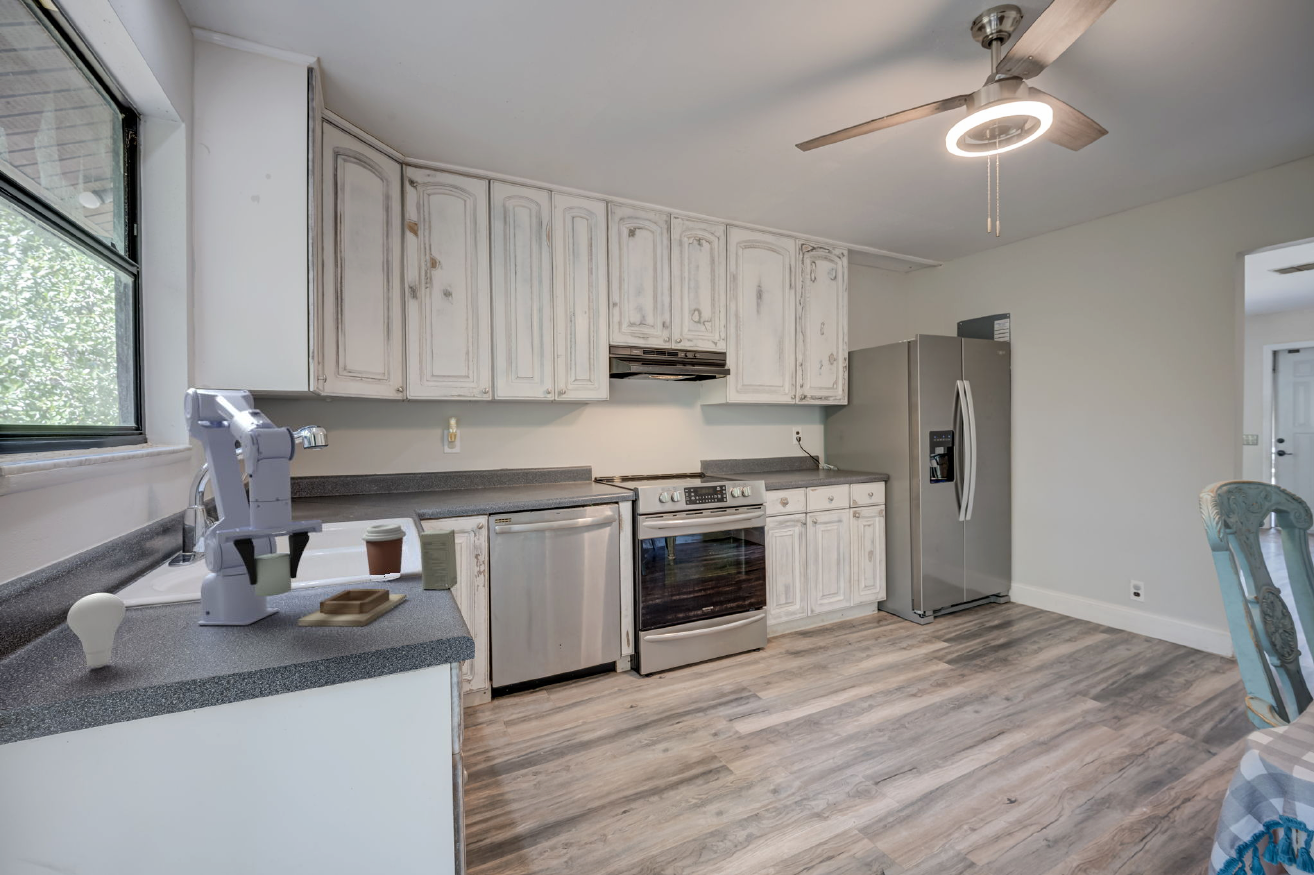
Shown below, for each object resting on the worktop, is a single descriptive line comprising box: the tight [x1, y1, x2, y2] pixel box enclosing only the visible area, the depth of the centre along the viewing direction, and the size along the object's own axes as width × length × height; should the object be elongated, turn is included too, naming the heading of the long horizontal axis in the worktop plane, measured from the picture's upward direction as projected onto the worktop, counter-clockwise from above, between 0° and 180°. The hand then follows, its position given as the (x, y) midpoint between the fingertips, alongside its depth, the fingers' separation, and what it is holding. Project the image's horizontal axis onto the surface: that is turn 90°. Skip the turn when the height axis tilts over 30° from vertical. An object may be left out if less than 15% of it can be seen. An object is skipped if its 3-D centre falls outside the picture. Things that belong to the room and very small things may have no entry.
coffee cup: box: [361, 523, 407, 577], centre depth 130 cm, size 9×9×12 cm
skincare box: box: [419, 528, 458, 590], centre depth 122 cm, size 6×4×12 cm
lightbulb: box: [66, 592, 126, 669], centre depth 83 cm, size 6×6×11 cm
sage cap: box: [254, 552, 292, 597], centre depth 95 cm, size 5×5×6 cm
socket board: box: [297, 588, 407, 627], centre depth 107 cm, size 12×15×3 cm
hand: (273, 580), depth 95 cm, fingers closed on sage cap, 5 cm apart
